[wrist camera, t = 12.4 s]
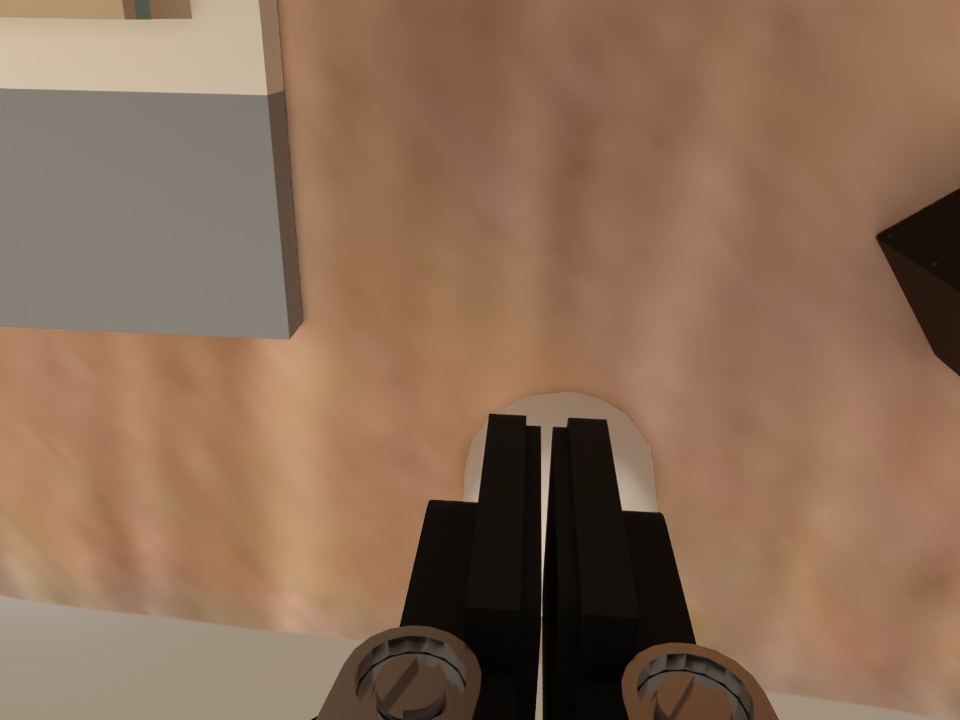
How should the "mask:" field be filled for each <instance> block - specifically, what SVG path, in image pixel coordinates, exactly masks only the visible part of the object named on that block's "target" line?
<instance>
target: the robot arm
mask: <svg viewBox="0 0 960 720" xmlns="http://www.w3.org/2000/svg"><path fill="white" fill-rule="evenodd" d="M541 609H542V670H543V720H779V719H778V717H777V715H776V713H775V711H774V709H773V708H772V706H771V704H770V702H769V700H768V698H767V696H766V694H765V692H764V691H763V690H762V688H761V687H760V685H759V684H758V683H757V681H756V680H755V678H754V677H753V676H752V675H751V674H750V673H749V672H748V671H747V670H745V669H744V668H743V667H742V666H741V665H739V664H738V663H737V662H736V661H734V660H732V659H731V658H729V657H727V656H725V655H723V654H721V653H719V652H717V651H716V650H712V649H709V648H706V647H702V646H699V645H696V641H695V637H694V633H693V629H692V625H691V621H690V617H689V613H688V609H687V605H686V601H685V597H684V593H683V589H682V585H681V581H680V577H679V573H678V569H677V565H676V561H675V557H674V553H673V549H672V545H671V541H670V537H669V533H668V529H667V525H666V522H665V519H664V516H663V514H662V513H660V512H642V511H624V510H622V507H621V501H620V495H619V489H618V483H617V477H616V471H615V465H614V459H613V453H612V447H611V441H610V435H609V429H608V423H607V420H606V419H588V418H568V421H567V427H553V430H552V444H551V460H550V475H549V491H548V506H547V522H546V537H545V553H544V568H543V587H542V525H541V426H529V425H526V415H506V414H489V418H488V426H487V434H486V442H485V450H484V458H483V466H482V474H481V482H480V489H479V497H478V502H462V501H444V500H430V501H429V503H428V506H427V510H426V514H425V518H424V523H423V527H422V531H421V536H420V540H419V545H418V549H417V553H416V558H415V562H414V566H413V571H412V575H411V579H410V584H409V588H408V593H407V597H406V601H405V606H404V610H403V614H402V619H401V623H400V627H398V628H392V629H388V630H386V631H383V632H381V633H379V634H376V635H374V636H372V637H370V638H369V639H367V640H366V641H365V642H363V643H362V644H361V645H359V646H358V647H357V648H355V649H354V651H353V652H352V654H351V655H350V656H349V658H348V659H347V660H346V662H345V663H344V665H343V667H342V669H341V671H340V673H339V675H338V677H337V679H336V681H335V683H334V685H333V687H332V689H331V691H330V693H329V695H328V697H327V699H326V701H325V703H324V704H323V707H322V709H321V710H320V712H319V714H318V716H317V717H315V718H313V719H312V720H535V710H536V694H537V679H538V665H539V649H540V633H541Z"/></svg>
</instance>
